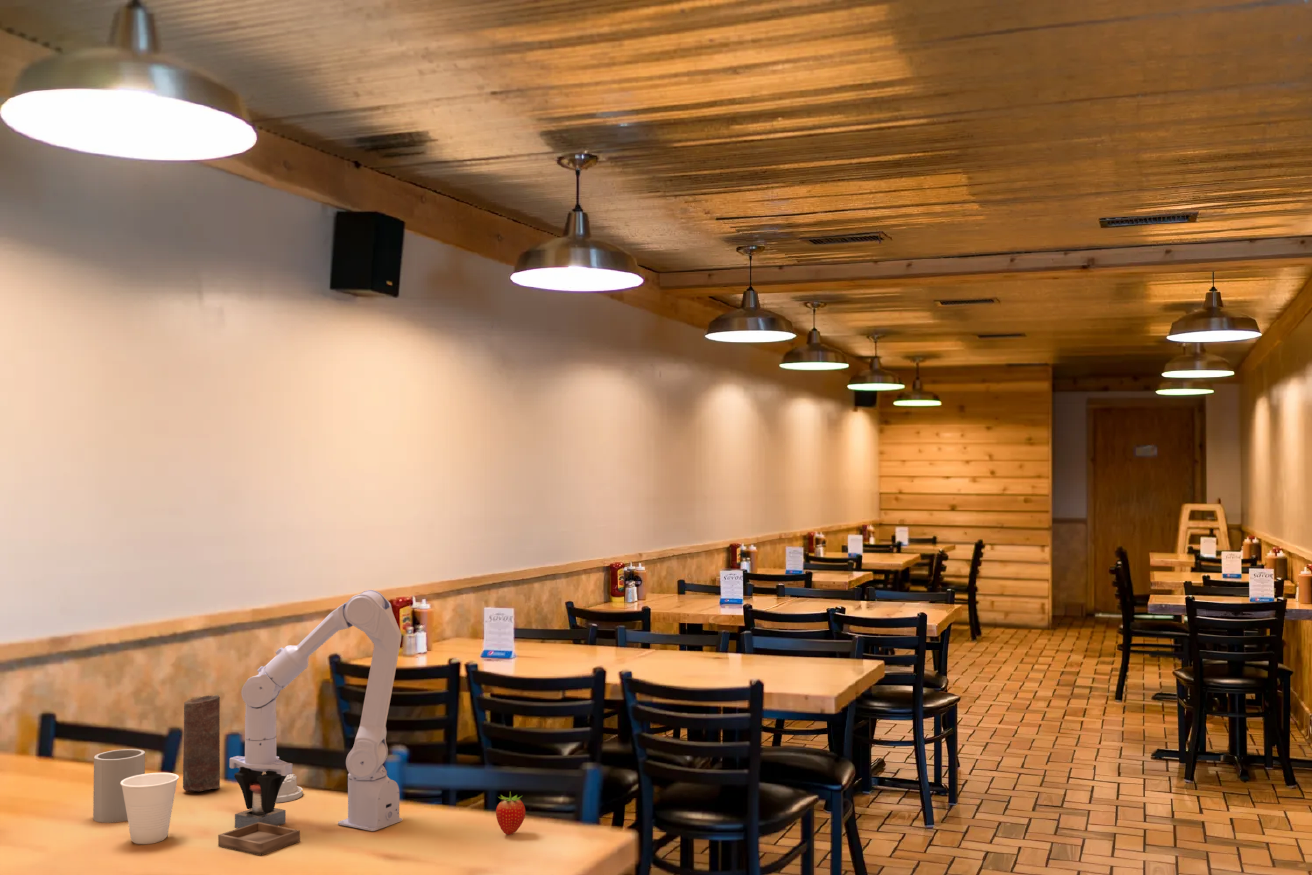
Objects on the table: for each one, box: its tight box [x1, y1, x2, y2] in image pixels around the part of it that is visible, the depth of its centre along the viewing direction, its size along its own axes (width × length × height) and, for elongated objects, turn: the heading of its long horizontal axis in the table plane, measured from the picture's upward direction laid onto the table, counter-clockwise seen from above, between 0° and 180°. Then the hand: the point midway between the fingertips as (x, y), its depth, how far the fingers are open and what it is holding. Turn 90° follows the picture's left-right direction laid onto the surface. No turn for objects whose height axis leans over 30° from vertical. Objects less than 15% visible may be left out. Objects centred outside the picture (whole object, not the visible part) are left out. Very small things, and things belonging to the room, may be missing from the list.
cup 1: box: [92, 748, 146, 824], centre depth 227 cm, size 9×9×12 cm
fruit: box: [495, 791, 526, 836], centre depth 212 cm, size 5×5×8 cm
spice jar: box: [249, 781, 269, 816], centre depth 219 cm, size 4×4×8 cm
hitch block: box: [234, 807, 287, 829], centre depth 219 cm, size 6×6×2 cm
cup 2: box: [120, 772, 180, 845], centre depth 211 cm, size 10×10×11 cm
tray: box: [217, 822, 301, 856], centre depth 208 cm, size 11×9×2 cm
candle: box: [182, 694, 221, 793], centre depth 245 cm, size 8×7×20 cm
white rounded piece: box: [275, 773, 304, 804], centre depth 239 cm, size 10×4×10 cm
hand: (260, 809), depth 219 cm, fingers closed on spice jar, 4 cm apart
